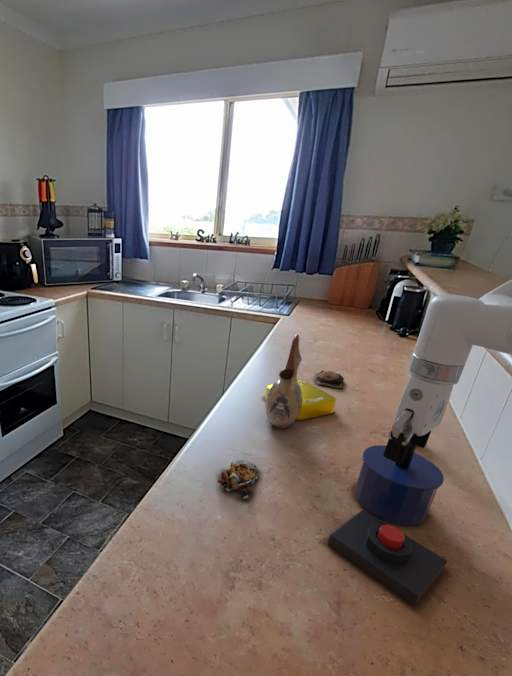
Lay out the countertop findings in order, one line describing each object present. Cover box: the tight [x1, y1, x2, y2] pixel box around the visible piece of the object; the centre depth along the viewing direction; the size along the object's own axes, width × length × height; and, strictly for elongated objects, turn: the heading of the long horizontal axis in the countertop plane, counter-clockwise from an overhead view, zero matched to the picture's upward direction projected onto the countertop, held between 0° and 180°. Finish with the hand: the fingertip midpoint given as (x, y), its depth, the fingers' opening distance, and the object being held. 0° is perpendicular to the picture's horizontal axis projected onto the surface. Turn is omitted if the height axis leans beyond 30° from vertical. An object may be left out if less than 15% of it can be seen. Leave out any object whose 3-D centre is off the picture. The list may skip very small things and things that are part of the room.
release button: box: [377, 524, 405, 550], centre depth 65 cm, size 4×4×2 cm
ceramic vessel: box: [264, 334, 303, 429], centre depth 101 cm, size 16×9×25 cm, turn 154°
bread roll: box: [316, 370, 345, 389], centre depth 134 cm, size 11×8×4 cm
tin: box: [354, 460, 439, 527], centre depth 78 cm, size 13×13×8 cm
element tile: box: [264, 379, 337, 421], centre depth 116 cm, size 15×15×5 cm
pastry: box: [216, 460, 260, 500], centre depth 83 cm, size 7×12×4 cm, turn 153°
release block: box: [327, 509, 448, 607], centre depth 66 cm, size 14×11×4 cm
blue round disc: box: [362, 440, 445, 490], centre depth 75 cm, size 14×14×6 cm
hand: (404, 451), depth 75 cm, fingers open, 9 cm apart
